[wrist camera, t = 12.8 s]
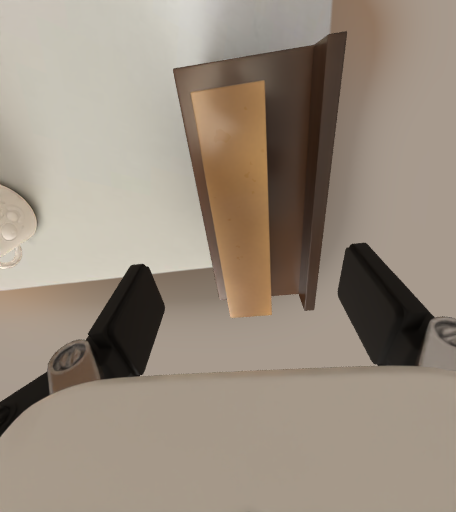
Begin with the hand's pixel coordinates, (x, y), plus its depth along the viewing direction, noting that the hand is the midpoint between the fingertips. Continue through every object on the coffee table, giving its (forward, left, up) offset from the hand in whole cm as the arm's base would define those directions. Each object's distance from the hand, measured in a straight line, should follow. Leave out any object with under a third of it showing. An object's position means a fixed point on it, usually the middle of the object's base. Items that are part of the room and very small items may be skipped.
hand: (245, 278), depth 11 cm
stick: (+1, +1, -10) cm, 10 cm away
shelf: (-1, +2, -24) cm, 24 cm away
